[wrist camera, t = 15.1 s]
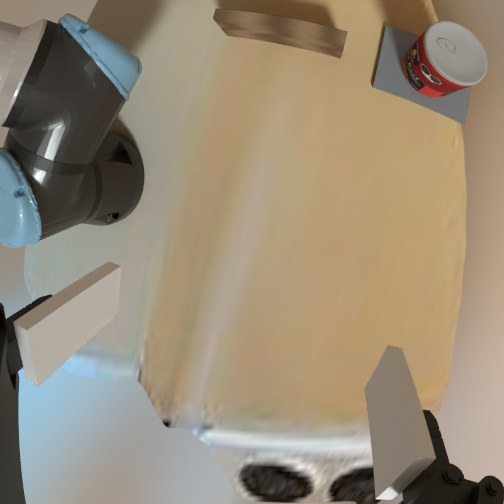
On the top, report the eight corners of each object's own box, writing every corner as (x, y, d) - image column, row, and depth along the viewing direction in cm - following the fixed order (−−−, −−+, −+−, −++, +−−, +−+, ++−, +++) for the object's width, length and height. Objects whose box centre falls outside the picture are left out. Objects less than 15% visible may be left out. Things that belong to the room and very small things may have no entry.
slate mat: (372, 86, 37) (373, 85, 36) (385, 26, 34) (386, 24, 33) (462, 123, 36) (464, 123, 35) (472, 64, 32) (474, 63, 31)
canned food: (400, 41, 33) (422, 12, 23) (452, 54, 32) (485, 32, 22) (400, 92, 36) (425, 74, 25) (452, 104, 34) (489, 93, 24)
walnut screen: (227, 35, 38) (212, 18, 32) (230, 26, 38) (215, 8, 31) (340, 58, 37) (344, 42, 30) (343, 49, 36) (347, 31, 29)
